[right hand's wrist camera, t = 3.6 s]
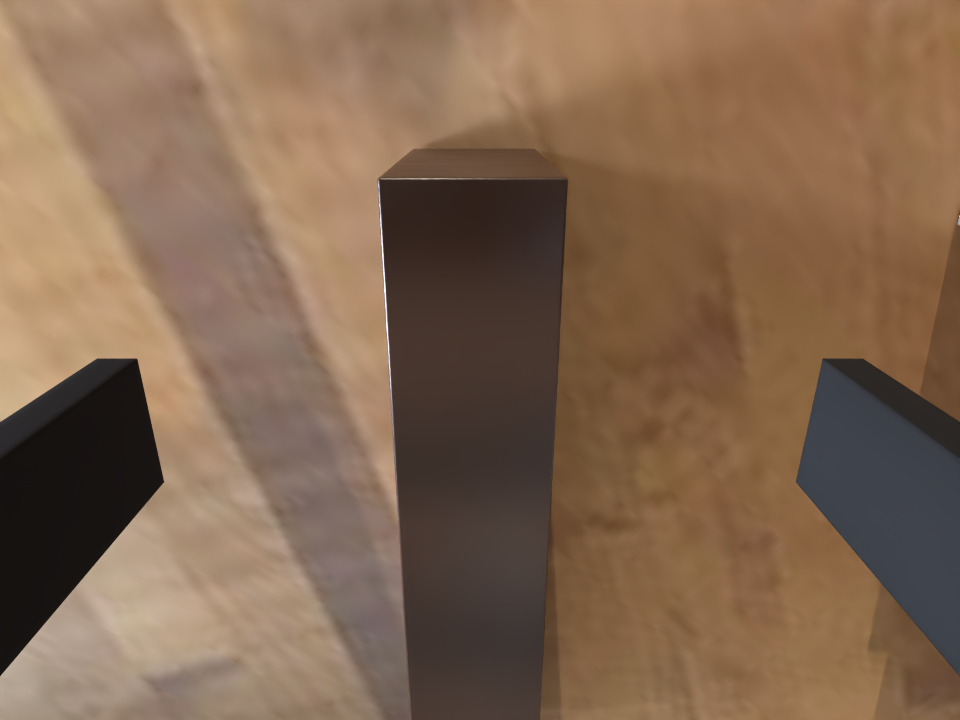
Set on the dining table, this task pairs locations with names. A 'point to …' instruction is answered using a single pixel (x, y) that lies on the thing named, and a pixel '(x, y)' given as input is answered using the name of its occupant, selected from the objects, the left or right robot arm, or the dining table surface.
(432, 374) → the walnut bar
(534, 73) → the dining table surface
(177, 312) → the dining table surface
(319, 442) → the dining table surface
